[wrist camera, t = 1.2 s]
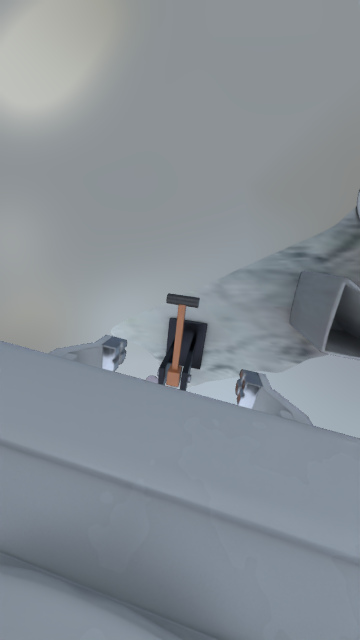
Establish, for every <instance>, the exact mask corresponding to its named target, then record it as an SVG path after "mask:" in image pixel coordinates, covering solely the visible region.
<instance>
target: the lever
mask: <svg viewBox="0 0 360 640" xmlns="http://www.w3.org/2000/svg"><path fill="white" fill-rule="evenodd" d="M199 300H200V298H197V297H190V296H183V295H176V294H168V295H167V303H169V304H176V305H179V307H178V316H177V325H176V334H175V343H174V352H173V361H172V365H170V367H169V369H168V372H167V382H166V385H171V386H176V387H178V386H179V383H180V379H181V372H182V366H179V360H180V352H181V344H182V336H183V328H184V320H185V312H186V306H189V307H195V308H198V306H199Z"/></svg>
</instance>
